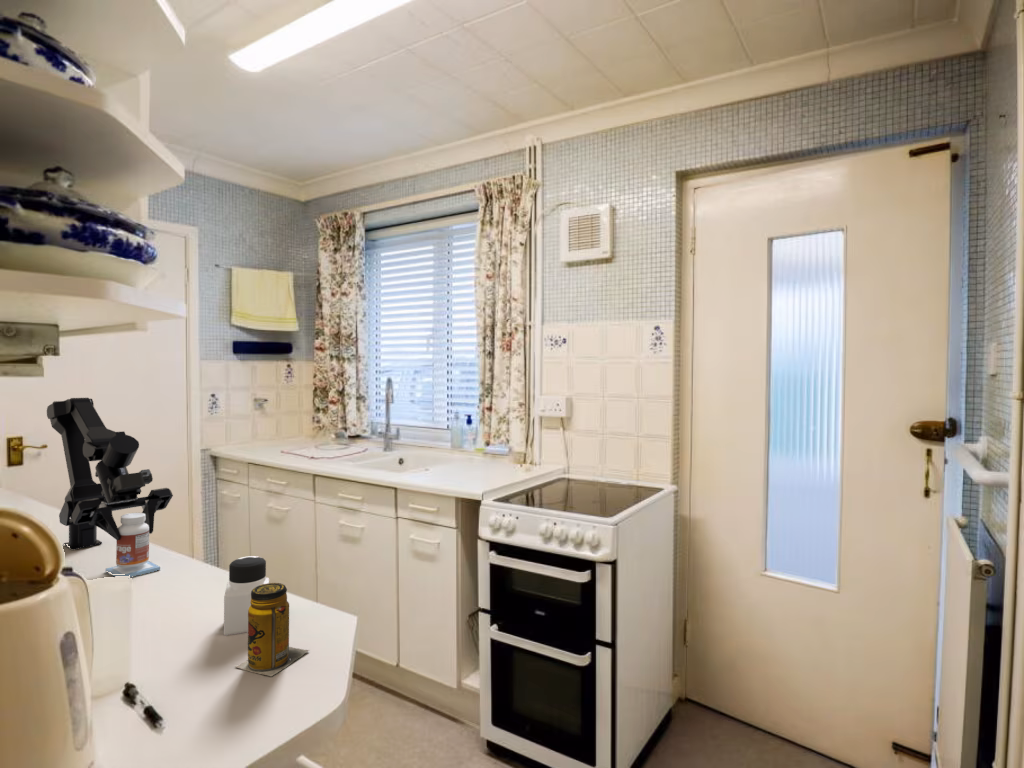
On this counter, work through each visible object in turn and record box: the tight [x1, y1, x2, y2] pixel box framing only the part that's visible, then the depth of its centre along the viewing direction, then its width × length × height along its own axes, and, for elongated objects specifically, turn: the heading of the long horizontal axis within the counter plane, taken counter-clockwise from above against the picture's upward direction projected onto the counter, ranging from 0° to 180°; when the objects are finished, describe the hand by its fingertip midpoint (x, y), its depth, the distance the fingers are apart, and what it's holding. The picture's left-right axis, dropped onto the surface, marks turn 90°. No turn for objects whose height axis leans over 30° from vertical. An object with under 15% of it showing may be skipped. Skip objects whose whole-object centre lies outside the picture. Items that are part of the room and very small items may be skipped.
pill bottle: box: [115, 512, 150, 568], centre depth 127 cm, size 6×6×11 cm
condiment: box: [234, 582, 310, 677], centre depth 90 cm, size 7×8×12 cm
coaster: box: [105, 560, 161, 578], centre depth 127 cm, size 8×8×1 cm
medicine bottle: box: [223, 555, 270, 637], centre depth 102 cm, size 7×7×12 cm
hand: (135, 535), depth 126 cm, fingers closed on pill bottle, 6 cm apart
